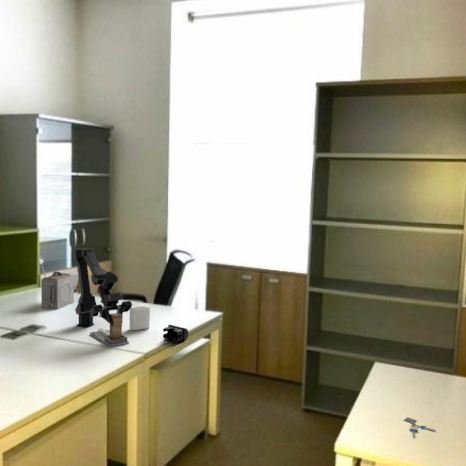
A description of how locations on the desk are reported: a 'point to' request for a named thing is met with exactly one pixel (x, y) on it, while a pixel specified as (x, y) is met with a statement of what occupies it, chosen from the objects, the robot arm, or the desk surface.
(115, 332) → the brown tall block
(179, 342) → the end cap
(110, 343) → the rail
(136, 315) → the photo printer
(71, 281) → the portable television
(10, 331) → the desk surface
